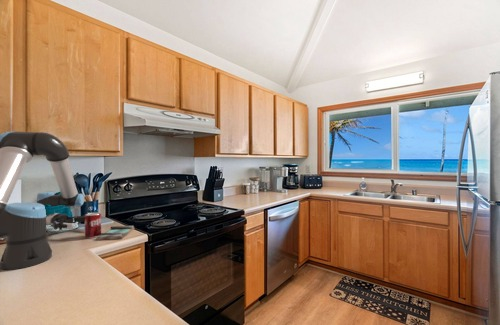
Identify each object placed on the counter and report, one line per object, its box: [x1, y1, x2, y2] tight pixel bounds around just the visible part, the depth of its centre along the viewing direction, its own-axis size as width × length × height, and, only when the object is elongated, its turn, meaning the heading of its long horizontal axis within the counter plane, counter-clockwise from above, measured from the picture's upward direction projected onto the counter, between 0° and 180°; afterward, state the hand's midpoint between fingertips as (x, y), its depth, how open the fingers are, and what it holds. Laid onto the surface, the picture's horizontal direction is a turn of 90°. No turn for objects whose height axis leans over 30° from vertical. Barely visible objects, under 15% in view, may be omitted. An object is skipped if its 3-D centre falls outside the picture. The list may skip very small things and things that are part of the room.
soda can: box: [84, 212, 102, 239], centre depth 123 cm, size 7×7×12 cm
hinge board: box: [95, 225, 135, 241], centre depth 126 cm, size 12×18×3 cm, turn 8°
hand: (85, 223), depth 125 cm, fingers open, 13 cm apart
